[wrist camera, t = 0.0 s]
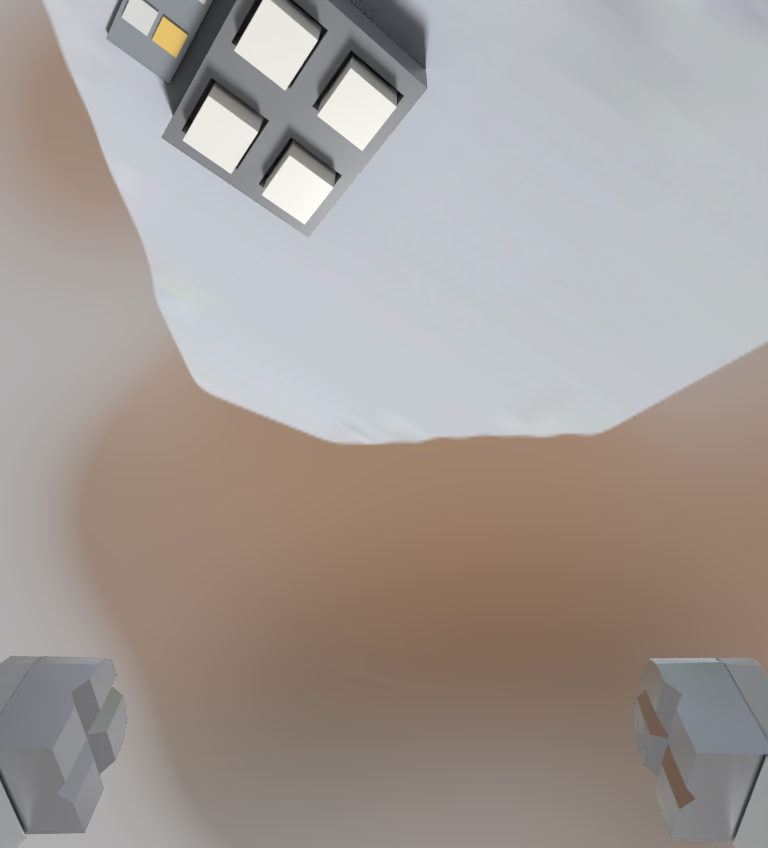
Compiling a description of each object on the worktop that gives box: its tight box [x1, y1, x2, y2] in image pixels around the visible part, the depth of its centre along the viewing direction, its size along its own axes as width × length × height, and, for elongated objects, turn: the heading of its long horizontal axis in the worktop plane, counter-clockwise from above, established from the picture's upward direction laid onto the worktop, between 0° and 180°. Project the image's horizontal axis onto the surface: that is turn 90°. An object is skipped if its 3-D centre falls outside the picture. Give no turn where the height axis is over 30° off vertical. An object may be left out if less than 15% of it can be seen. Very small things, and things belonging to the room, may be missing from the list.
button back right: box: [262, 139, 336, 225], centre depth 54 cm, size 4×4×3 cm
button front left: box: [234, 0, 321, 90], centre depth 46 cm, size 4×4×3 cm
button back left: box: [183, 81, 264, 174], centre depth 51 cm, size 4×4×3 cm
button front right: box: [317, 55, 397, 151], centre depth 49 cm, size 4×4×3 cm
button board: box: [161, 0, 427, 237], centre depth 52 cm, size 16×14×4 cm
